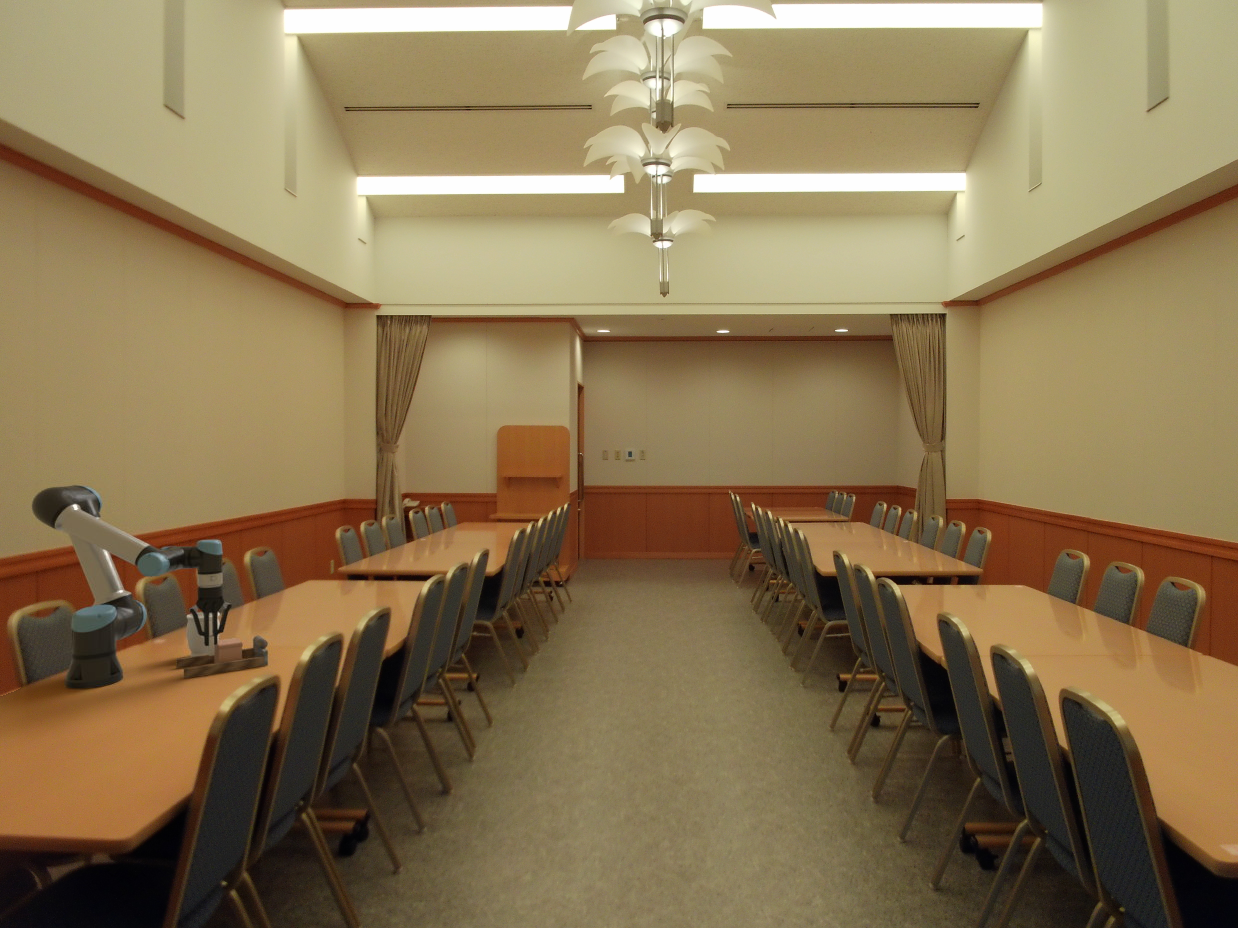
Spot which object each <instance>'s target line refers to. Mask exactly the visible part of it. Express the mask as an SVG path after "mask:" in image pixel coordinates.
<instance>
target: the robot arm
mask: <svg viewBox="0 0 1238 928" xmlns="http://www.w3.org/2000/svg"><path fill="white" fill-rule="evenodd" d="M102 508H103V500H102V497H101V496H100V494H99V493H98V492H97V491H96V490H95V489H93V488H91V487H89V486H86V485H77V484H74V485H73V484H72V485H69V486H68V485H67V486H52V487H51V486H50V487H47V488H44V489H43V490H41V491H39V492H37V494H36V495H35V496H34V498H33V499H32V502H31V509H32V513H33V515H34V516H35V518H36V519H37V520H38V521H40V523H43V524H44V525H46V526H48V527H49V528H52V529H54V530H56V531H58V532H63V533H65V534H68V536H69V539H70V542H71V544H72V547H73V549H74V551H75V554H76V556H77V558H78V561H79V565H80V566H81V569H82V571H83V573H84V576H85V578H86V580H87V584H88V586H89V589H90V590H91V593H92V597H93V599H94V603H93V605H91V606H87V607H83V608H80V609H79V610H77V611H75V612H73V614H72V616H71V623H70V628H71V662H70V665H69V667H68V670H67V673H66V674H65V679H64V686H65V688H67V689H76V690H77V689H78V690H79V689H91V688H98V687H105V686H107V685H108V686H109V685H111V684H114V683H118V682H120V681H122V680H123V678H124V670H123V668H122V664H120V663H121V662H120V661H119V658H118V655H117V642H118V641H120V640H122V639H123V640H124V638H128V637H130V636H133V635H134V634H135V633H138V632H139V631H141V629H142V628H143V627H144V626H145V623H146V622H147V618H148V614H147V612H148V611H147V608H146V607H145V605H144V604H143V603H142V602H141V601H138V600H136V599H135V597H134V596H133V594H132V592H130V591H128V590H125V588H124V585H123V583H122V580H121V578H120V575H119V573H118V571H117V568H116V565H115V562H114V561H113V559H112V555H114V556H116V557H117V558H120V559H121V560H123V561H126V562H128V563H129V564H132V565H134V566H136V567H137V569H138V571H139V572H140V574H142V575H143V576H145V577H149V578H152V577H159V576H163V575H165V574H167V573H171V572H175V571H177V570H186V569H191V570H193V569H196V571H197V573H196V575H197V576H196V577H197V586H198V587H197V600H196V602H195V605H194V606H192V607H189V608H188V612H189V613H190V614H192V615H193V619H194V622H195V625H196V629H197V632H198V634H199V635H200V636H204V644H205V646H208V655H209V656H213V655H214V645H217V643H218V640H219V639H217V636H218V634H219V635H220V634H222V633H224V630H225V627H226V624H227V619H228V615H229V611H230V610H231V608H232V606H233V605H232V604H231V603H228V602H226V601H225V598H224V590H223V589H224V586H223V581H224V580H223V578H224V577H223V545H222V544H223V543H222V541H221V540H220V539H202V540H198V541H197V543H196V545H195V546H180V545H179V546H177V545H176V546H175V545H172V546H163V547H161V548H160V549H159V548H157V547H155V546H153V545H151V544H149V543H147V542H145V541H143V540H141V539H139V538H137V537H135V536H133V535H132V534H129V533H128V532H126V531H123V530H121V529H119V528H117V527H116V526H113V524H110V523H108V522H106V521H104V520H102V517H101V513H100V512H101V509H102ZM111 554H112V555H111ZM221 608H223V609H222V614H221V617H220V620H219V617H218V618H217V616H218V612H219V611H220V610H221ZM198 609H199V610H200V612H203V615H204V632H203V631H202V628H201V625H200V621H199V618H198V615H197V613H198V611H199V610H198ZM209 613H212V633H213V635H209ZM218 620H219V624H220V625H219V629H218Z"/></svg>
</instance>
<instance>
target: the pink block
mask: <svg viewBox="0 0 1238 928" xmlns="http://www.w3.org/2000/svg"><path fill="white" fill-rule="evenodd" d="M243 646H244V645H243V642H242V641H241V640H240V639H239V638H237V637H233V638H225V639H218V643H217V645H214V663H213V664H216V663H223V662H229V661H236V660H242V659H243V658H242V649H243Z"/></svg>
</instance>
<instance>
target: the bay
mask: <svg viewBox="0 0 1238 928" xmlns="http://www.w3.org/2000/svg"><path fill="white" fill-rule="evenodd" d="M268 645H269V643H268V641H267V640H266V639H265V638H263V637H262V636H261V635H255V636H254V637H253V638H252V647H249V648H242V660H236V661H229V662H223V663H216V664H214V655H213V656H209V655H208V654H206V655H200V656H193V657H190V656H188V657H181V658H176V669H183V679H190V678H192V679H193V678H196V677H197V678H198V677H203V676H204V677H205V676H209V675H214V674H221V673H226V672H227V673H229V672H233V671H240V670H246V669H251V668H252V669H253V668H259V667H264V666H269V665H268V664H269V660H268V659H269V656H268V655H269V653H268V652H269V651H268V649H266V648H267V647H268Z"/></svg>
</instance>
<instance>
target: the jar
mask: <svg viewBox="0 0 1238 928" xmlns="http://www.w3.org/2000/svg"><path fill="white" fill-rule="evenodd" d="M196 613H197V615H198V618H199V621H200V625H201V628H202V631H203V632H204V615H203V612H202V611H200V612H196ZM220 616H221V613H220V612H219V611H218V616H217V618H218V629H219V625H220V620H219V617H220ZM186 620H187V624H186V631H185V632H186V640H187V645H188V648H189V650H190V652H191V653H190V654H189V657H193V656H200V655H206V654H208V646H205V644H204V636H200V635H199V634H198V632H197V629H196V625H195V622H194V619H193V615H192V613H190V614H187V615H186ZM209 635H213V633H212V613H209ZM219 638H220V634H218V636H217V639H218V640H220V639H219Z"/></svg>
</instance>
